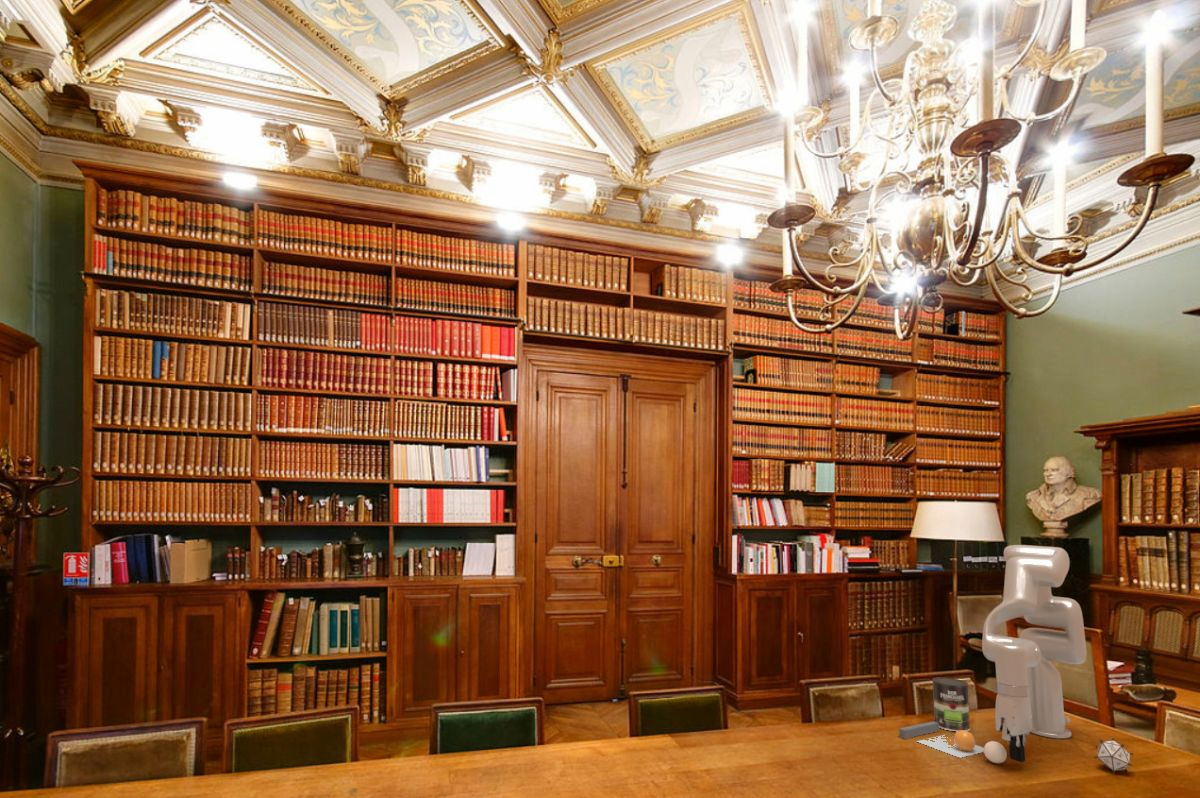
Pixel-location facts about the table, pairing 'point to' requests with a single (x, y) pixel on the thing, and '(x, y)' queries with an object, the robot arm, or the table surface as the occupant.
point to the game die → (1113, 755)
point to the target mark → (952, 751)
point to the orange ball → (964, 740)
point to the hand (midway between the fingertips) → (1017, 760)
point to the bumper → (918, 729)
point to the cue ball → (995, 752)
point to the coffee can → (951, 704)
